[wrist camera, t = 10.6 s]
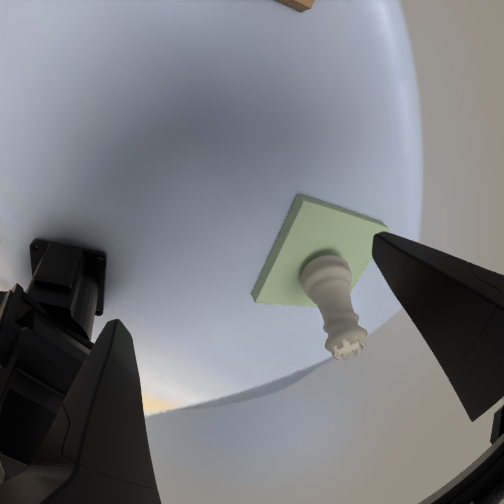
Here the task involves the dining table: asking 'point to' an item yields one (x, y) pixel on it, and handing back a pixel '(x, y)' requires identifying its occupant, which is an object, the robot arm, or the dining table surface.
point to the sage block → (314, 249)
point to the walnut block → (298, 4)
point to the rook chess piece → (334, 304)
